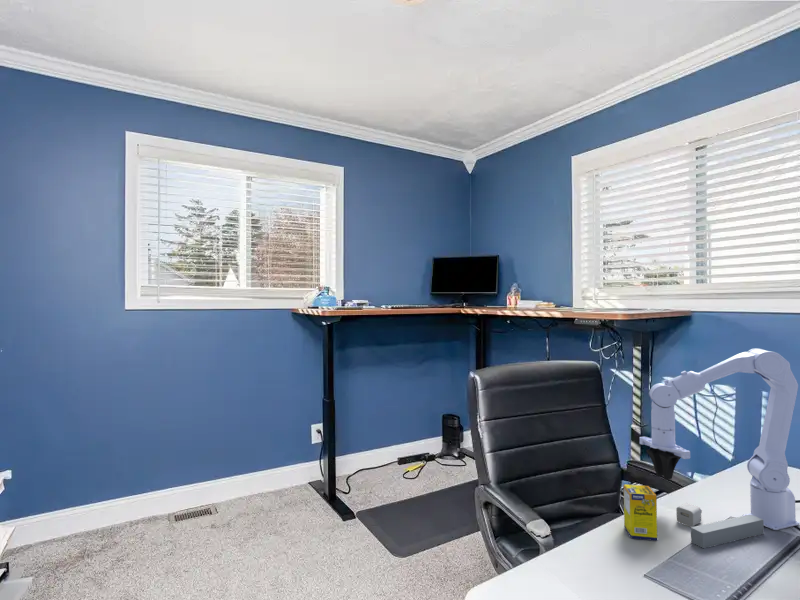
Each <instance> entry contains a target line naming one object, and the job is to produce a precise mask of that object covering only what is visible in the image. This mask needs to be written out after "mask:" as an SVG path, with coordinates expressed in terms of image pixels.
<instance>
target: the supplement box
mask: <svg viewBox="0 0 800 600" xmlns="http://www.w3.org/2000/svg"><path fill="white" fill-rule="evenodd" d="M657 498H658V497H657V494H656V493H655V492H654V491H653V489H652V488H651V487H650V486H649V485H639V484H623V521H624V522H623V523H624V524H623V525H624V526H623V527H624V529H625V531H626V532H627V534H628V536H629V538H630V539H632V540H633V539H634V540H644V541H645V540H646V541H655V542H657V541H658V520H657V519H658V514H657V511H658V510H657V509H658V507H657Z"/></svg>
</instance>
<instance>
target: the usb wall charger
mask: <svg viewBox="0 0 800 600" xmlns="http://www.w3.org/2000/svg"><path fill="white" fill-rule="evenodd" d="M702 511H703V510H702V509H701V507H700V506H698V505H695V504H691V503H688V502H685V503H683V504H681V505H679V506H678V507H676V513H675V514H676V521H677V522H678V523H679V522H680V523H679V524H682V523H683V524H682V525H684V524H685V525H684V526H687V525H688V526H687V527H690V528H691V527H695V526H697V525H698V524H699V523H701V522H702Z"/></svg>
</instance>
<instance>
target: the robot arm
mask: <svg viewBox="0 0 800 600" xmlns="http://www.w3.org/2000/svg"><path fill="white" fill-rule="evenodd" d="M736 373H744V374H745V373H746V374H756V375H758V376H760V377H761V379H762V380H763V381H764V382H765V383H766V384H767V385H768V386H769V387H770V390H769V395H768V400H767V405H766V410H765V416H764V420H763V424H762V430H761V435H760V439H759V440H760V441H759V444H758V446H757V447H755V449H754V451H753V455H752V456H751V457H750V458H749V459H748V460H747V463H746V468H747V471H748V473H749V475H751V476H752V478H751V479H750V482H749V483H750V484H749V486H750V487H749V488H750V493H749V494H750V512H749V513H745V514H742V515H741V516H745V515H750V514H751V515H753V516H756V517H758V518H761V519H763V527H766V528H768V529H770V530H773V531H778V530H783V529H787V528H791V527H796V526H799V525H800V521H797V520H796V496H795V495H794V493H793V491H792V490H791V489H790V488H789V485H790V481H791V479H790V476H789V472H788V468H789V464H788V463H789V462H788V461H787V458H786V457H787V456H786V449H787V444H788V439H789V434H790V430H791V425H792V419H793V414H794V409H795V405H796V401H797V394H798V390H799V383H798V381H797V379H796V377H795V375H794V373H793V371H792V369H791V363H790V361H788V360H787V359H786V358H784V357H783V356H782V355H781V354H780V353H778V352H775V351H771V350H765V349H763V348H759V347H758V348H757V347H756V348H751V349H749V350H748V351H743V352H740V353H737V354H735V355H733V356H730V357H729V358H727V359H725V360H722V361H720V362H719V363H716V364H714V365H712V366H710V367H708V368H706V369H703V370H701V371H699V372H695V371H693V370H690V371H686V370H683V371H681V372H680V375H678V376H675V377H673V378H670V379H669V380H668V379H664V380H663V383H660V382H659V383H655V384H653V385H652V387H651V388H650V390H649V392H648V395H649V398H650V400H652V401H651V410H650V411H651V412H650V416H651V417H650V418H651V421H650V422H651V423H650V425H651V426H650V427H651V437H648V436H639V445H645V446H648V447H649V448H648V449H646V453H647V455H648V457H649V458H650V460H651V462H652V465H653V467H654V471H655V474H656V477H663V480H666V481H667V480H672V479H673V475H674V471H675V468H676V466H677V464H678V462H680V460H681V459H683V460H689V459H691V451H690V450H687V449H685V448H683V447H681V446H680V445H677V444H676V411H675V405H676V404H677V401H678V400H683V399H686V398H688V397H690V396H693V395H695V394H698V393H700V392H702V391H704V389H705V387H706V385H707V384H709V383H711V382H712V383H713V382H714V381H717V380H720V379H723V378H725V377H727V376H730V375H733V374H736Z"/></svg>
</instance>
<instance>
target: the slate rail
mask: <svg viewBox="0 0 800 600" xmlns="http://www.w3.org/2000/svg"><path fill="white" fill-rule="evenodd" d="M744 515H745V514H744ZM764 527H765V526H763V519H761V518H758V517H756V516H753V515H751V514H750V515H745V516H742V515H741V516H736V517H733V518H727V519H723V520H718V521H713V522H710V523H705V524H699V525H695V526H693V527H690V543H691V544H694V545H695V544H696V545H695V546H697V545H698V546H697V547H699V546H700V547H699V548H701V547H702V549H703V548H704V549H707V548H706V547H708V548H710V546H712V547H715V546H714V545H716V546H719V544H720V545H723V543H724V544H727V543H726V542H729V543H731V542H730V541H733V542H735V541H734V540H737V541H739V539H741V540H744V539H743V538H745V539H747V538H746V537H749V538H751V537H750V536H754V537H756V536H755V535H758V536H762V535H764V532H765V531H764V529H765V528H764ZM761 534H762V535H761Z"/></svg>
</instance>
